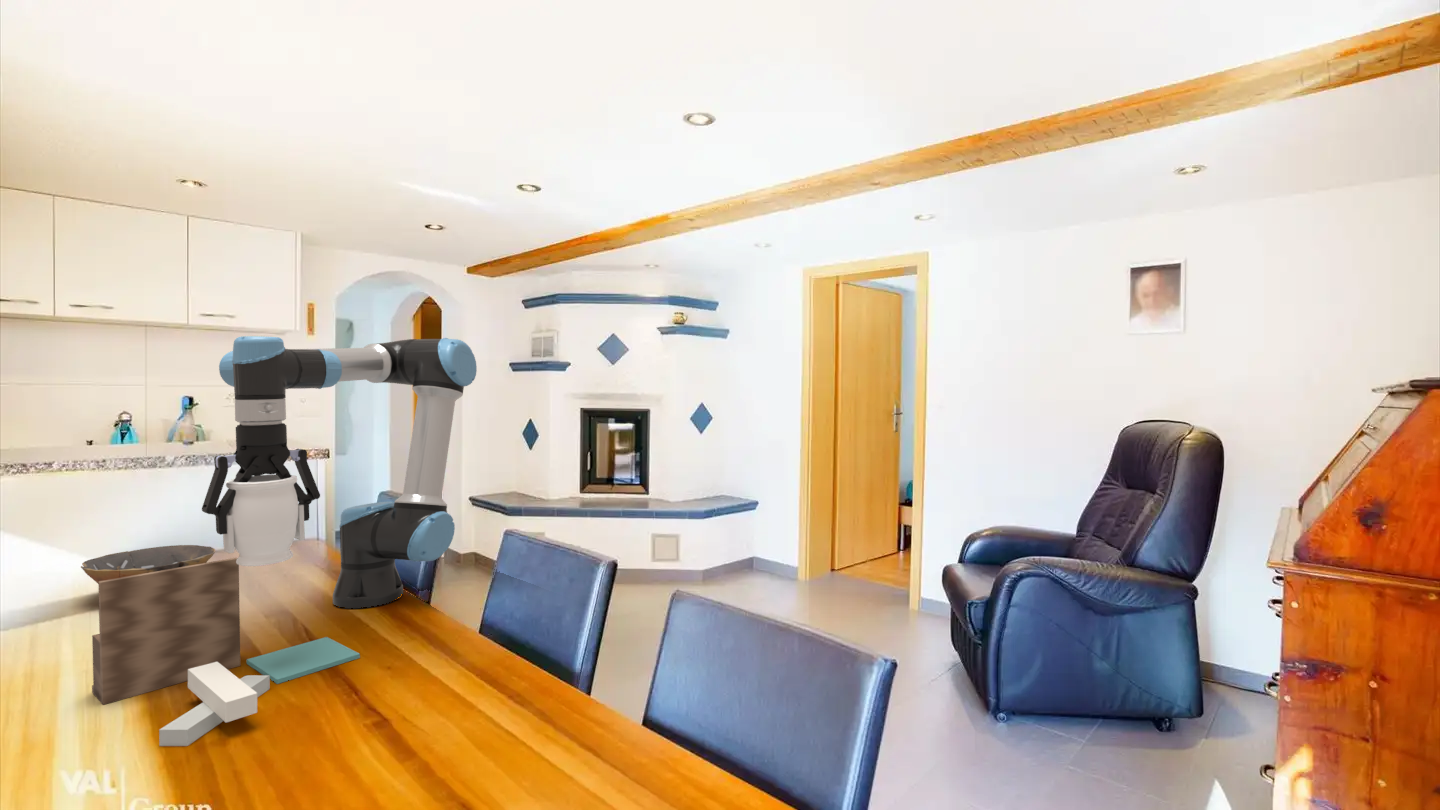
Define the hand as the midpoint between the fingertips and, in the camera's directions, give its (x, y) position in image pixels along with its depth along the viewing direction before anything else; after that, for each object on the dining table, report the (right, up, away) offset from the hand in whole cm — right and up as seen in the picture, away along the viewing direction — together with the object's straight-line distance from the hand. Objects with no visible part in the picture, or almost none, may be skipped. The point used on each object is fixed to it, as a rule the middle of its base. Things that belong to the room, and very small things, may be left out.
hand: (265, 545), depth 120 cm
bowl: (-57, -22, +43) cm, 75 cm away
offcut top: (+3, -21, -15) cm, 26 cm away
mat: (+4, -23, +5) cm, 24 cm away
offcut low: (+3, -24, -15) cm, 29 cm away
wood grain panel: (-15, -23, -2) cm, 28 cm away
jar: (0, -3, 0) cm, 3 cm away
